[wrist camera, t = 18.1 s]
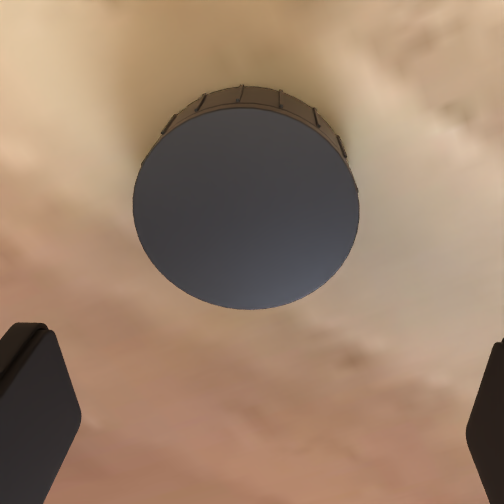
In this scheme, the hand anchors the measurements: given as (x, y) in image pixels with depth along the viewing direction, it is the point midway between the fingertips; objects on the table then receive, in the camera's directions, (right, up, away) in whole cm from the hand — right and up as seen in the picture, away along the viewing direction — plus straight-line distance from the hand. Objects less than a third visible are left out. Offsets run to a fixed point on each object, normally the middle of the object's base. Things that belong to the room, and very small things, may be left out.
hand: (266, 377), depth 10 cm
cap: (-1, +4, +5) cm, 7 cm away
